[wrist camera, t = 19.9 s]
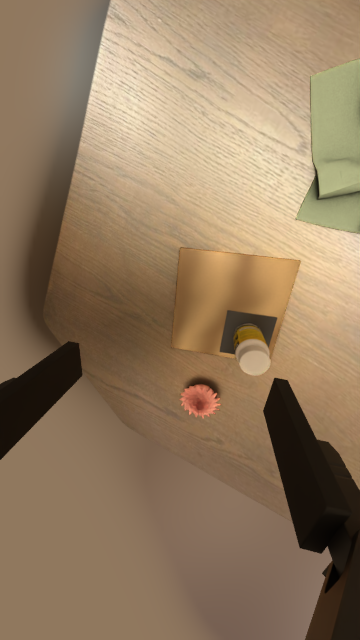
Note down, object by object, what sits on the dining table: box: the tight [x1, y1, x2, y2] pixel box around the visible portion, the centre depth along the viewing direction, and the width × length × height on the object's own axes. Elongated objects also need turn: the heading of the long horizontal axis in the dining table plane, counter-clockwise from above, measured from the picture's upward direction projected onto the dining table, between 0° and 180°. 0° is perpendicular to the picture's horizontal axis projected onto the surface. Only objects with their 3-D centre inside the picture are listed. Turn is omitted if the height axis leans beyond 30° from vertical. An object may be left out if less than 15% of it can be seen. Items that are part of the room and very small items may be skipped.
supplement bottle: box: [233, 324, 270, 375], centre depth 31 cm, size 5×5×8 cm
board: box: [171, 247, 301, 360], centre depth 35 cm, size 18×18×1 cm
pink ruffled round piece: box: [179, 384, 222, 418], centre depth 40 cm, size 8×8×6 cm
